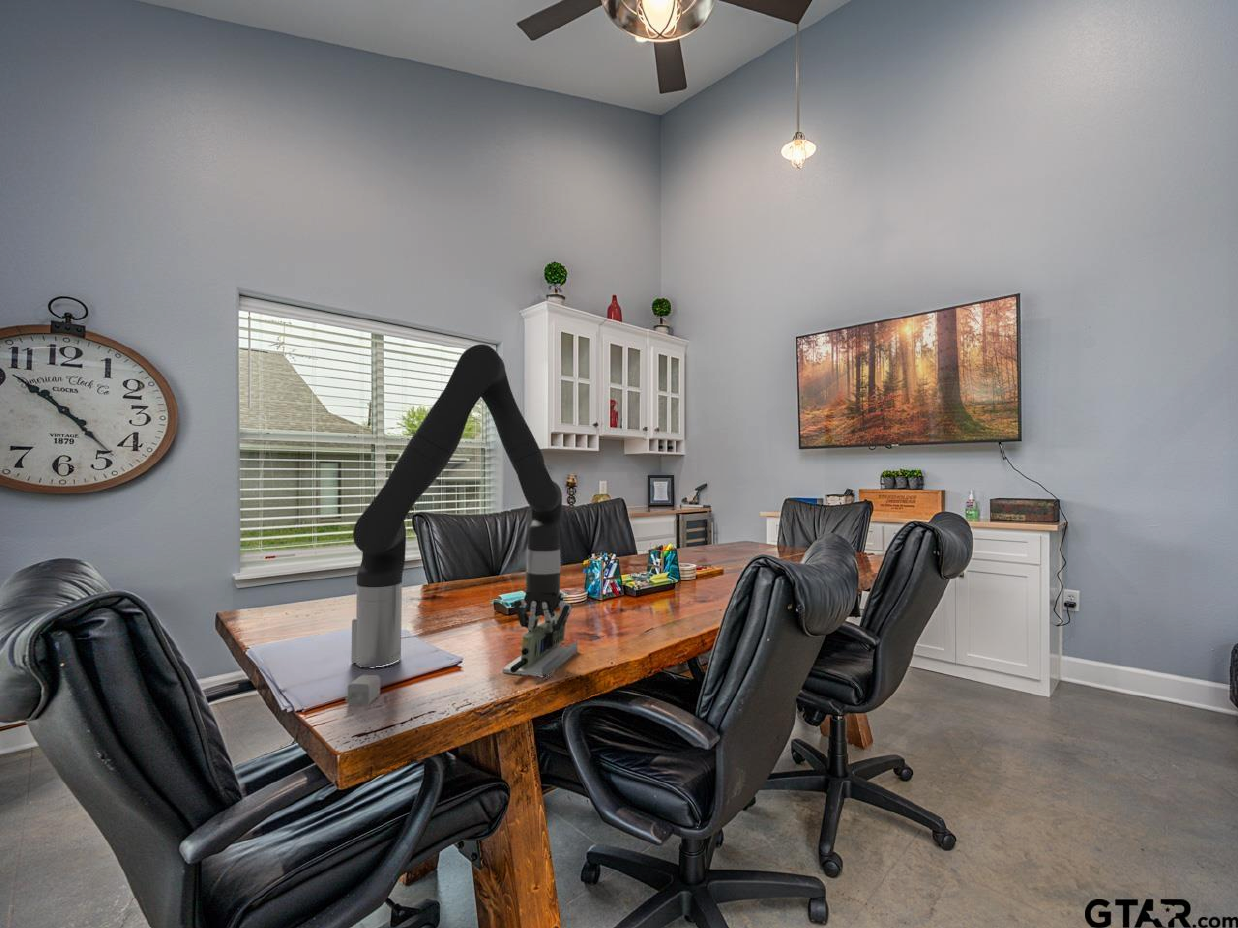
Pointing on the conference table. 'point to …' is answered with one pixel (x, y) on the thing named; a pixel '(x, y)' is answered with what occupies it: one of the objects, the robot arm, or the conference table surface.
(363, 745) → the conference table surface
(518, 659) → the charging dock
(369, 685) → the usb wall charger
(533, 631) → the handheld radio
